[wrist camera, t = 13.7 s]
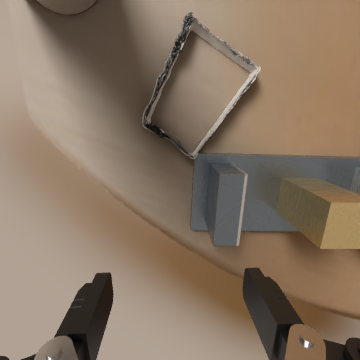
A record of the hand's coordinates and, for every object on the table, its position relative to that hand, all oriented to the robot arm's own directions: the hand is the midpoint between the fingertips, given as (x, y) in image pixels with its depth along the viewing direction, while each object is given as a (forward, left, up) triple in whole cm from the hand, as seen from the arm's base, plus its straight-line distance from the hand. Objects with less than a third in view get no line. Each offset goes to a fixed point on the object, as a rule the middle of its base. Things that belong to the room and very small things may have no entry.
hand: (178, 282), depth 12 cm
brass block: (+17, 0, -16) cm, 24 cm away
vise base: (+16, -2, -18) cm, 24 cm away
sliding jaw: (+6, 0, -16) cm, 17 cm away
